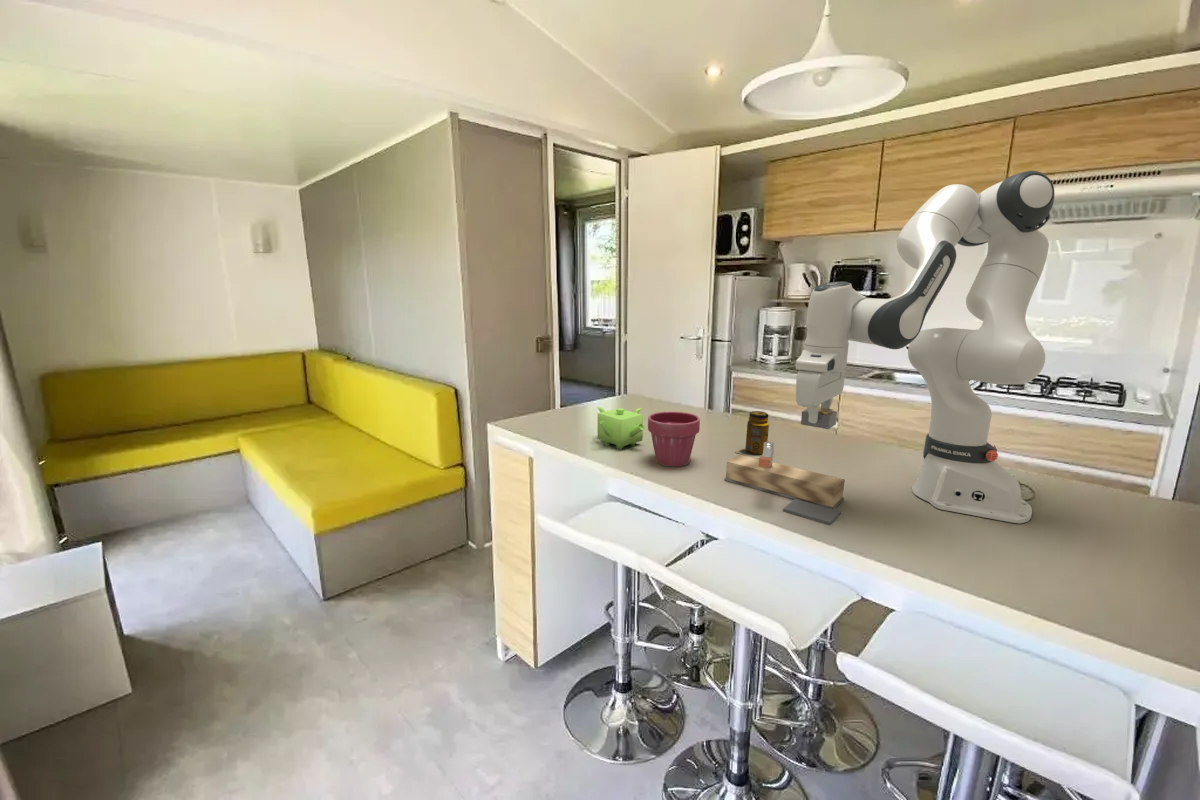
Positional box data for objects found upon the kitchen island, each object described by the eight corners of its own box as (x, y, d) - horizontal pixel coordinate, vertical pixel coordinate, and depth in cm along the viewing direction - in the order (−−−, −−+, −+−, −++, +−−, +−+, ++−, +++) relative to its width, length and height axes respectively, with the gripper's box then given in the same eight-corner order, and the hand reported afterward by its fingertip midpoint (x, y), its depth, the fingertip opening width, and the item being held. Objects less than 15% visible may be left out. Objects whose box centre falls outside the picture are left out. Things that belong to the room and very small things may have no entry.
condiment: (772, 452, 152) (775, 413, 150) (757, 459, 147) (760, 418, 144) (750, 446, 158) (753, 408, 155) (735, 453, 152) (737, 413, 149)
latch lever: (768, 484, 115) (770, 460, 114) (757, 483, 116) (759, 458, 115) (772, 464, 127) (774, 442, 126) (762, 463, 128) (764, 441, 127)
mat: (840, 513, 113) (840, 511, 112) (830, 525, 107) (830, 522, 107) (794, 501, 119) (795, 498, 119) (782, 511, 114) (783, 508, 114)
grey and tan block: (835, 424, 116) (837, 409, 115) (828, 429, 113) (829, 413, 112) (808, 419, 120) (810, 405, 119) (800, 424, 116) (802, 409, 116)
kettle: (597, 436, 167) (597, 402, 165) (641, 437, 167) (641, 403, 165) (596, 451, 153) (596, 414, 150) (644, 452, 153) (645, 415, 150)
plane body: (843, 499, 120) (846, 479, 119) (833, 510, 114) (835, 489, 113) (738, 472, 137) (739, 454, 135) (724, 480, 131) (725, 461, 130)
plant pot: (655, 450, 154) (656, 408, 151) (702, 456, 149) (704, 413, 146) (640, 465, 141) (641, 420, 138) (691, 473, 136) (693, 426, 133)
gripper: (826, 351, 122) (820, 408, 126) (792, 362, 108) (786, 426, 111) (854, 354, 118) (847, 413, 122) (823, 365, 103) (817, 431, 107)
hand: (818, 419), depth 116 cm, fingers closed on grey and tan block, 5 cm apart
